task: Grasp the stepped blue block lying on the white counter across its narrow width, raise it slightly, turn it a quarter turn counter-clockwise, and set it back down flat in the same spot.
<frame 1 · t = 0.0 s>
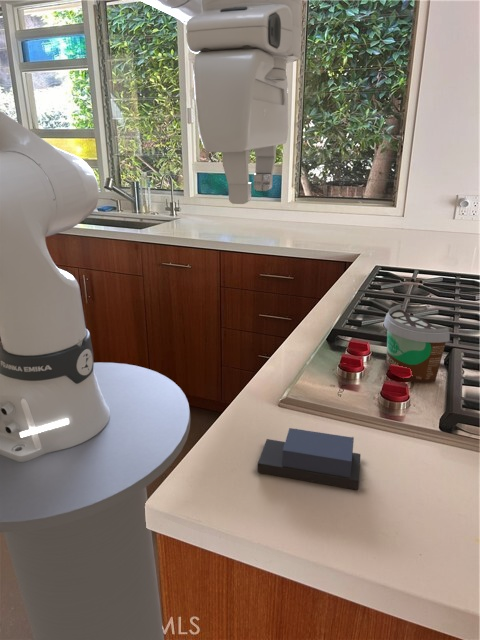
hand: (252, 196, 47), 33 cm above the countertop, tool pointing down, fingers open, 8 cm apart
food container: (401, 373, 79), on the countertop
stepped blue block: (309, 467, 57), on the countertop
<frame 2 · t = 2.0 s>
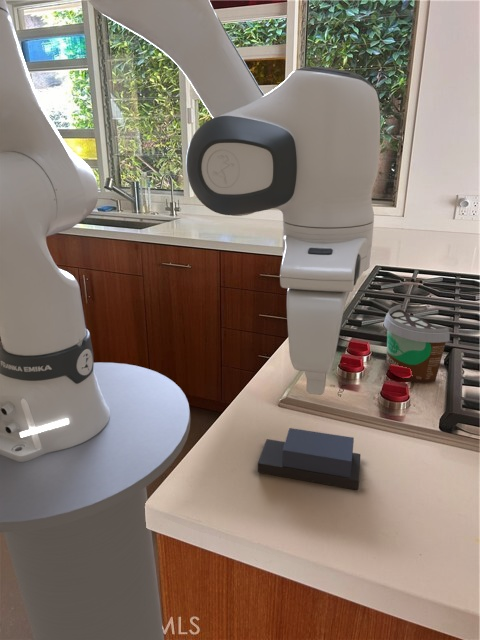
hand: (321, 369, 52), 14 cm above the countertop, tool pointing down, fingers open, 8 cm apart
nothing on the countertop moved.
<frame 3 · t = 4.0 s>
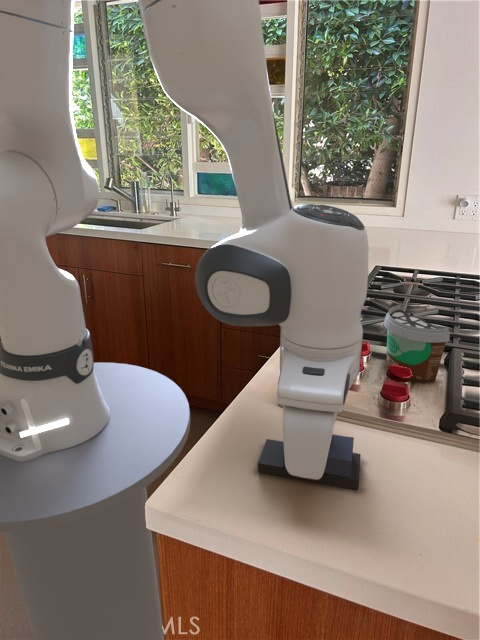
hand: (313, 456, 57), 2 cm above the countertop, tool pointing down, fingers closed on stepped blue block, 4 cm apart
stepped blue block: (309, 467, 57), on the countertop, touching gripper
everything else where it was.
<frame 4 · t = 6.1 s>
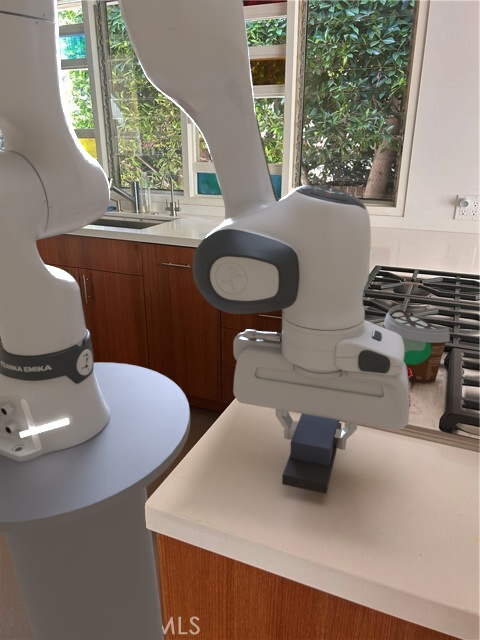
hand: (315, 441, 57), 4 cm above the countertop, tool pointing down, fingers closed on stepped blue block, 4 cm apart
stepped blue block: (313, 456, 57), point 2 cm above the countertop, touching gripper
everything else where it was.
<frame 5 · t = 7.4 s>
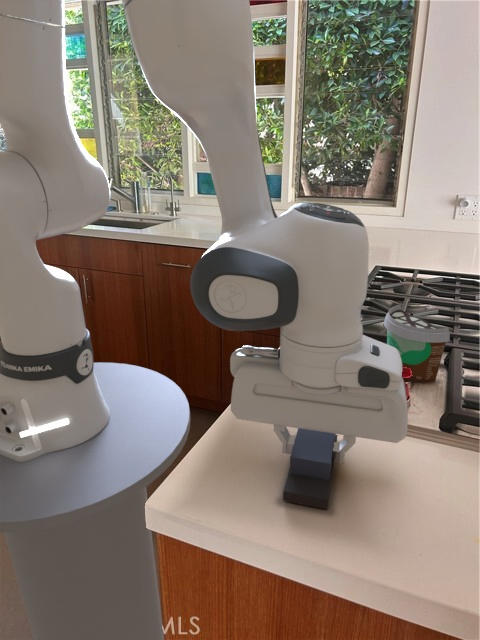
hand: (313, 455, 57), 2 cm above the countertop, tool pointing down, fingers closed on stepped blue block, 4 cm apart
stepped blue block: (312, 469, 57), on the countertop, touching gripper
everything else where it was.
when the fingers open (2 cm above the countertop, at t = 8.1 s): stepped blue block stays where it is, on the countertop.
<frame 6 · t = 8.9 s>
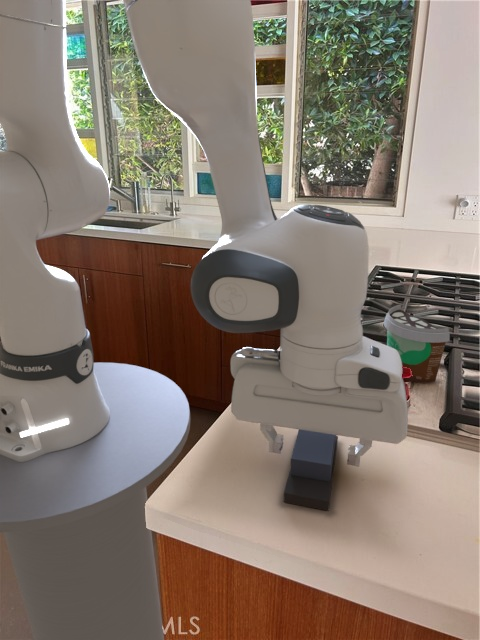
hand: (313, 456, 57), 2 cm above the countertop, tool pointing down, fingers open, 8 cm apart
stepped blue block: (312, 471, 57), on the countertop
everything else where it was.
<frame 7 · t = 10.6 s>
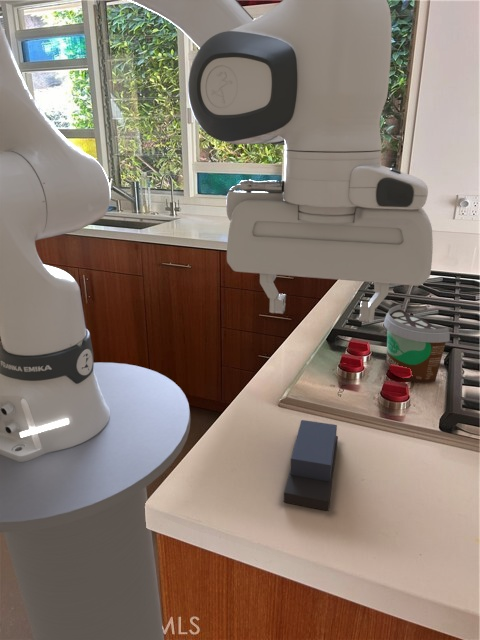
hand: (320, 315, 50), 20 cm above the countertop, tool pointing down, fingers open, 8 cm apart
nothing on the countertop moved.
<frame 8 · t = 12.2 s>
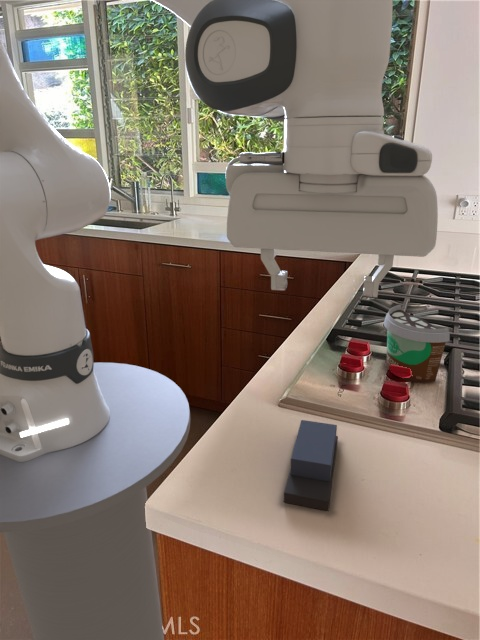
hand: (323, 292, 48), 23 cm above the countertop, tool pointing down, fingers open, 8 cm apart
nothing on the countertop moved.
at the end: stepped blue block inside the target area (0.6 cm from its centre), on the countertop; stepped blue block tilted 0°; the gripper is holding nothing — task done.
